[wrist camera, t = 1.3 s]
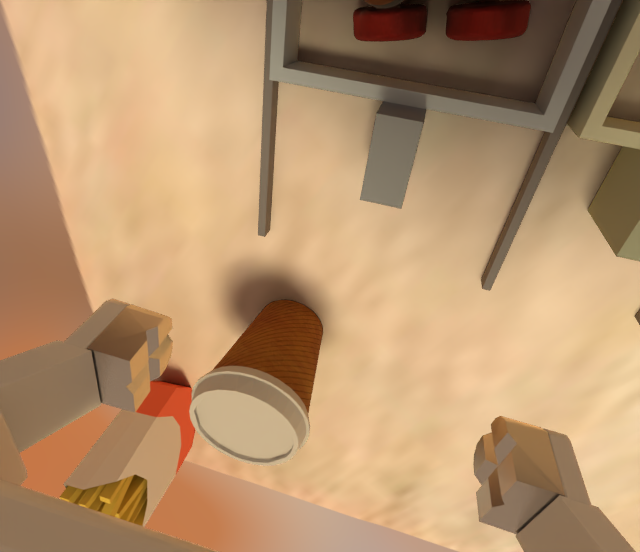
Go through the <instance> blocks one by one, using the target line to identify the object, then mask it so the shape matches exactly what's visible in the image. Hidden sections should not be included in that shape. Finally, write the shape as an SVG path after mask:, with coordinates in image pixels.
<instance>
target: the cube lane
mask: <svg viewBox="0 0 640 552" xmlns="http://www.w3.org/2000/svg"><path fill="white" fill-rule="evenodd" d="M639 52H640V0H623V2H622V4H621V6H620V9H619V11H618V13H617V15H616V17H615V20H614V22H613V24H612V26H611V28H610V31H609V33H608V35H607V37H606V39H605V41H604V44H603V46H602V48H601V50H600V52H599V55H598V57H597V59H596V61H595V63H594V66H593V68H592V70H591V72H590V74H589V77H588V79H587V81H586V83H585V85H584V87H583V90H582V92H581V94H580V96H579V98H578V101H577V103H576V105H575V107H574V109H573V112H572V114H571V116H570V118H569V120H568V122H567V125H568V126H569V127H570V128H571V129H572V130H573V131H574V133H575V134H576V135H577V136H578V137H579V138H582V139H588V140H593V141H598V142H604V143H609V144H614V145H620V146H623V147H622V148H621V150H620V152H619V154H618V156H617V158H616V159H615V161H614V163H613V165H612V167H611V168H610V170H609V172H608V174H607V176H606V178H605V179H604V181H603V183H602V185H601V187H600V188H599V190H598V192H597V194H596V196H595V198H594V199H593V201H592V203H591V205H590V207H589V208H588V212H589V213H590V215H591V217H592V218H593V220H594V221H595V223H596V225H597V226H598V228H599V229H600V231H601V233H602V234H603V236H604V237H605V239H606V241H607V242H608V244H609V245H610V247H611V249H612V250H613V252H614V253H615V255H616V256H618V257H622V258H627V259H631V260H636V261H640V122H636V121H630V120H625V119H619V118H614V117H608V116H607V115H608V113H609V111H610V109H611V107H612V105H613V103H614V101H615V99H616V97H617V95H618V93H619V91H620V89H621V87H622V85H623V83H624V81H625V79H626V77H627V75H628V73H629V71H630V69H631V67H632V66H633V64H634V62H635V60H636V58H637V56H638V54H639Z"/></svg>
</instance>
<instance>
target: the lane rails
mask: <svg viewBox="0 0 640 552" xmlns="http://www.w3.org/2000/svg"><path fill="white" fill-rule="evenodd" d="M621 3H622V0H611V3H610V5H609V7H608V10H607V12H606V14H605V16H604V19H603V21H602V23H601V25H600V28H599V30H598V32H597V34H596V37H595V39H594V41H593V43H592V46H591V48H590V50H589V52H588V55H587V57H586V59H585V61H584V64H583V66H582V68H581V70H580V73H579V75H578V77H577V80H576V82H575V84H574V86H573V89H572V91H571V93H570V95H569V98H568V100H567V102H566V104H565V107H564V109H563V111H562V113H561V116H560V118H559V120H558V122H557V125H556V127H555V129H554V131H553V133H550V132H545V133H544V135H543V138H542V140H541V142H540V145H539V147H538V149H537V152H536V154H535V156H534V159H533V161H532V163H531V166H530V168H529V170H528V173H527V175H526V177H525V179H524V182H523V184H522V186H521V189H520V191H519V193H518V196H517V198H516V200H515V203H514V205H513V207H512V210H511V212H510V214H509V217H508V219H507V221H506V224H505V226H504V228H503V230H502V233H501V235H500V237H499V240H498V242H497V244H496V247H495V249H494V251H493V254H492V256H491V258H490V261H489V263H488V265H487V268H486V270H485V272H484V274H483V277H482V279H481V283H482V289H485V290H489V291H490V290H491V288H492V286H493V283H494V281H495V279H496V277H497V275H498V272H499V270H500V268H501V266H502V264H503V261H504V259H505V257H506V255H507V253H508V250H509V248H510V246H511V244H512V242H513V239H514V237H515V235H516V233H517V231H518V229H519V226H520V224H521V222H522V220H523V218H524V215H525V213H526V211H527V209H528V207H529V204H530V202H531V200H532V198H533V196H534V193H535V191H536V189H537V187H538V185H539V182H540V180H541V178H542V176H543V174H544V171H545V169H546V167H547V165H548V163H549V161H550V158H551V156H552V154H553V152H554V150H555V147H556V145H557V143H558V141H559V139H560V136H561V134H562V132H563V130H564V128H565V125H566V123H567V121H568V119H569V117H570V114H571V112H572V110H573V108H574V106H575V103H576V101H577V99H578V97H579V95H580V92H581V90H582V88H583V86H584V84H585V82H586V79H587V77H588V75H589V73H590V71H591V68H592V66H593V64H594V62H595V60H596V57H597V55H598V53H599V51H600V49H601V46H602V44H603V42H604V40H605V38H606V35H607V33H608V31H609V29H610V27H611V24H612V22H613V20H614V18H615V16H616V14H617V11H618V9H619V7H620V5H621ZM272 11H273V0H267V12H266V38H265V64H264V90H263V116H262V143H261V169H260V195H259V221H258V235H260V236H264V237H265V236H266V235H267V233H268V232H269V231H270V220H271V203H272V186H273V168H274V151H275V133H276V116H277V98H278V81H273V80H269V77H270V55H271V33H272ZM635 318H636V319H637V321H638V323H639V325H640V310H639V311H638V313H637V314H636V315H635Z"/></svg>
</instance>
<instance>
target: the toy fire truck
mask: <svg viewBox="0 0 640 552" xmlns="http://www.w3.org/2000/svg"><path fill="white" fill-rule="evenodd" d="M363 1H364V2H366V3H367V4H369V5H371V6H370V7H362V8H358V9H356V10H355V11H354V14H353V22H354V36H355V38H356V39H358V40H361V41H399V40H408V39H414V38H418V37H421V36H422V35H423V34H424V33H425V32H426V23H427V8H426V6H425V5H424V4H400V3H401V2H402V1H404V0H363ZM530 9H531V4H530V2H529V1H527V0H502V1H500V0H479V2H475V3H465V4H457V5H453V6H451V7H450V8H449V10H448V12H447V23H446V35H447V37H448V38H450V39H453V40H463V41H479V40H498V39H507V38H513V37H517V36H520V35H522V34H524V33H525V31H526V29H527V26H528V20H529V13H530Z"/></svg>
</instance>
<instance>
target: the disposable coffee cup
mask: <svg viewBox="0 0 640 552" xmlns="http://www.w3.org/2000/svg"><path fill="white" fill-rule="evenodd" d="M322 335H323V328H322V324H321V322H320V320H319V318H318V317H317V315H316V314H315V313H314V312H313V311H312V310H310V309H309V308H308V307H306V306H304V305H302V304H300V303H297V302H294V301H289V300H278V301H274V302H271V303H270V304H268V305H267V306H266V307H265V308H264V309H263V310H262V312H261V313H260V314H259V315H258V316H257V318H256V319H255V320H254V321H253V322H252V323H251V325H250V326H249V327H248V328H247V330H246V331H245V332H244V333H243V334H242V335H241V337H240V338H239V339H238V340H237V342H236V343H235V344H234V345H233V346H232V348H231V349H230V350H229V351H228V352H227V354H226V355H225V356H224V357H223V358H222V360H221V361H220V362H219V363H218V364H217V365H216V367H215V368H214V369H213V370H212V371H211V372H209V373H207V374H206V375H204V376H203V377H202V378H200V379H199V380H198V381H197V383H196V384H195V385H194V387H193V390H192V402H191V405H190V410H189V413H190V419H191V421H192V424H193V426H194V428H195V429H196V431H197V432H198V433H199V434H200V436H201V437H202V438H203V439H204V440H205V441H206V442H207V443H209V444H210V445H211V446H212V447H214V448H215V449H217V450H218V451H220V452H222V453H223V454H225V455H227V456H229V457H231V458H234V459H236V460H239V461H242V462H245V463H249V464H254V465H262V466H273V465H279V464H282V463H285V462H287V461H289V460H290V459H292V457H293V456H294V455H295V454H296V453H297V451H298V450H299V449H300V448H301V447H303V446H304V444H305V443H306V442H307V440H308V437H309V433H310V423H309V417H308V412H309V406H310V400H311V394H312V390H313V384H314V383H313V382H314V378H315V377H314V376H315V373H316V367H317V366H316V365H317V362H318V361H317V360H318V355H319V350H320V345H321V340H322Z"/></svg>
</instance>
